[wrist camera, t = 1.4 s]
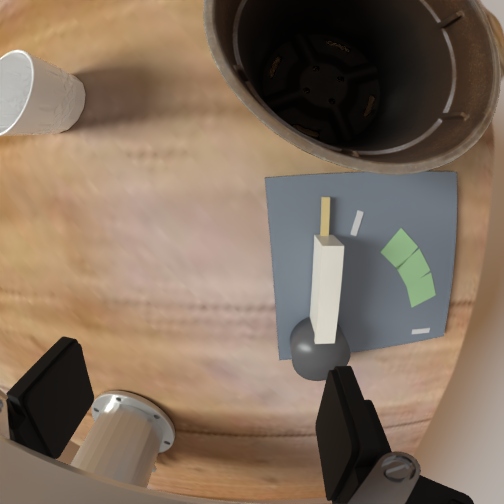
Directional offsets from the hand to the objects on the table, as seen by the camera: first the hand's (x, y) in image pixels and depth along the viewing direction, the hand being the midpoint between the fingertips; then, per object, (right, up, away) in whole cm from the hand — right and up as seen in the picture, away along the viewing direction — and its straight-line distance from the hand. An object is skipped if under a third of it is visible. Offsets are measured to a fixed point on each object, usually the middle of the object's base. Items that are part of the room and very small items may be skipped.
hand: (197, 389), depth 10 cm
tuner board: (+14, +3, +20) cm, 25 cm away
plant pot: (+8, +20, +16) cm, 27 cm away
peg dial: (+9, +2, +20) cm, 22 cm away
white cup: (-19, +21, +17) cm, 33 cm away
